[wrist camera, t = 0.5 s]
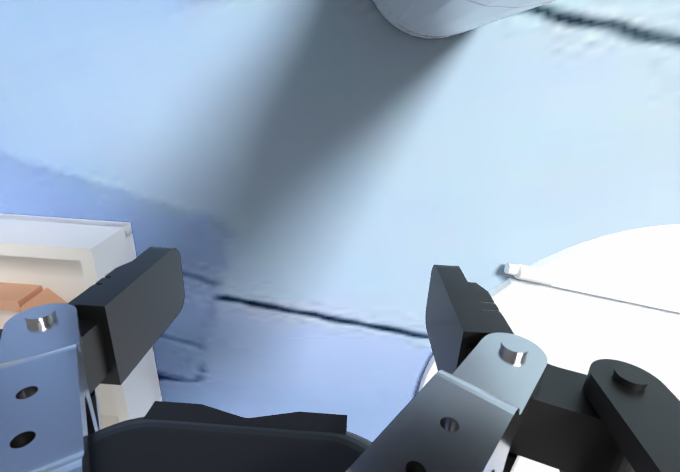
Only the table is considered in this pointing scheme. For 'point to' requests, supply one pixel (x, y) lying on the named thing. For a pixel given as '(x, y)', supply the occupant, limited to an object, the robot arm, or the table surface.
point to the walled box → (72, 287)
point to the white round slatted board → (599, 306)
